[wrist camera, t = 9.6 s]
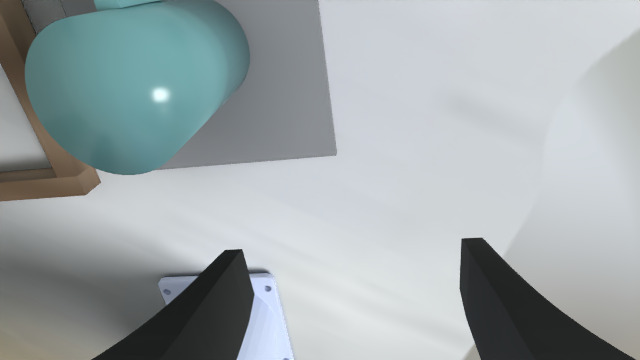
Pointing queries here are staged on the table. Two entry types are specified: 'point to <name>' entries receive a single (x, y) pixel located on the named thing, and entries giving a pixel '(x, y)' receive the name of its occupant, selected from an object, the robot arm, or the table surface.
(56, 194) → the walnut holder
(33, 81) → the teal jug
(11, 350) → the table surface
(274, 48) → the gray mat
